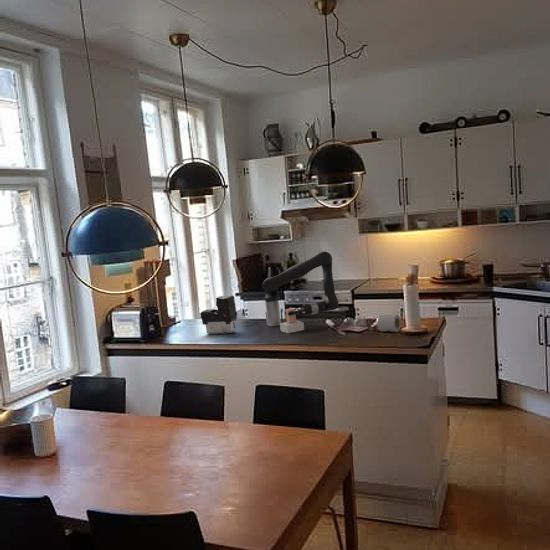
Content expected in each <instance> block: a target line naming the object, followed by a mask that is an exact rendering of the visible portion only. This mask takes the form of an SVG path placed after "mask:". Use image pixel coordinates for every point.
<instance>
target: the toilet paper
mask: <svg viewBox="0 0 550 550" xmlns="http://www.w3.org/2000/svg"><path fill="white" fill-rule="evenodd" d="M377 326H378V330H379V331H380V332H387V331H390V332H391V333H393V332H394V333H398V332H399V331H400V329H401V326H402V320H401V316H400V315H398V314H380V315H379V317H378V320H377ZM390 332H389V333H390Z"/></svg>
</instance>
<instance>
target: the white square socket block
mask: <svg viewBox="0 0 550 550" xmlns="http://www.w3.org/2000/svg"><path fill="white" fill-rule="evenodd" d="M279 328H280V332H283V333H286V334H290V333H297V332H299V331H300V332H301V331H304V330H305V324H304V321H302V320H297V319H296V322H294V323H289V324H287V321H285V322H281V323H280V325H279Z"/></svg>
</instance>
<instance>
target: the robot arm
mask: <svg viewBox="0 0 550 550" xmlns="http://www.w3.org/2000/svg"><path fill="white" fill-rule="evenodd" d="M319 267H321V270H322V274H323V275H322V276H323V278H322V279H323V280H322V281H323V282H322V283H323V284H322V285H323V292H324V296H325V297H326V298H327V300H324V301H317V302H311V303H310V302H309V303H305V304H304V303H303V304H302V305H301V307H297V308H296V307H294V309H295V311H294V312H293V311H292V312H288V315H289V316H290V315H296V316H300V315H303V316H304V317H307V316H311V315H317V314H320V313H323V312H329V311H335V310H336V309H338V307H339V300H338V297H337V294H336V293H335V292H336V291H335V284H334V277H333V257H332V254H331V253H329V252H328V251H325V250H324V251H321V252H319V253H318V254H317V253H316V254H315V255H314V256H312V257H310V258H308V259H307V260H304V261H301V262H299V263H297V264H294V265H293V266H291V267H289V268H287V269H285V270H284V271H282V272H281V273H279V274H278V275H275V276H272V277H270V276H269V277H267V278H266V279H265V280H263V281H262V282H263V283H262V286H261V287H262V289H263V290H264V293H265V295H264V301H265V320H266V326H268V327H277V326H280V323H282V322H281V321H282V319H281V312H280V311H281V310H280V302H279V287H281V286H283V285H285V284H288V283H291V282H293V281H296V280H298V279H301V278H302V277H304V276H306V275H308V274H309V273H310V272H311V271H313V270H314V269H317V268H319ZM284 315H285V316H286V311H284Z"/></svg>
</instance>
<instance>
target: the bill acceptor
mask: <svg viewBox="0 0 550 550" xmlns="http://www.w3.org/2000/svg"><path fill="white" fill-rule="evenodd" d="M215 301H216V302H215V305H216V306H215V307H217V309H215V308H209V309H208V308H207V309H205V310H203V311H201V312H200V314H199V316H200V319H201V323H202V325H203V326H204V325H205V330H206V334H209V335H213V334H224V335H225V334H226V335H227V334H230V333H232V334H233V333H234V332H236V330H235V329H236V324H235V322H236V321H237V319H238V312H237V306H236V302H235V296H234V295H232V294H231V295H221V296H218V297H215Z"/></svg>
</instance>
